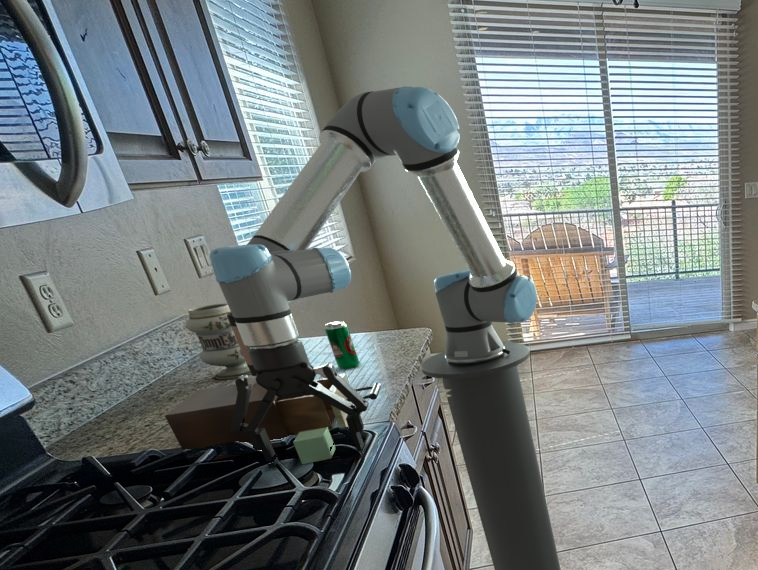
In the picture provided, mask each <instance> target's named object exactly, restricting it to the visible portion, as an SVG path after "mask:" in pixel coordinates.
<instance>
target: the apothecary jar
mask: <svg viewBox="0 0 758 570" xmlns="http://www.w3.org/2000/svg"><path fill="white" fill-rule="evenodd" d="M187 312H188V317H189V318H188V319H187V320H186V322H185V327H186V329H187V330H188V331H189V332H191V333H195V336H196V337H197V339H198V341H199V344H200V345H201V348H202V351H201V352H200V353H199V354H200V355H199V358H200V360H201V361H202V362H203V363H205V364H207V365H210V366H214V367H225V368H223V369H221V370H220V371H219V372H217V373H216V374H215V375H214V378H215V379H217V380H229V379H237V378H239V377H240V376H241V375H247V376H250V375H252V374H251V372H250V370H249V368H248V366H247V363H246V361H245V359H244V356H243V354H242V351H241V349H240V347H239V344H238V342H237V339H236V337H235V334H234V332H233V330H232V327H231V325H230V322H229V320H228V318H227V314H228V313H231V311H230V308H229V306H228V304H227V303H214V304H207V305H202V306H197V307H193V308H190V309H188V310H187Z"/></svg>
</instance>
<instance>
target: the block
mask: <svg viewBox="0 0 758 570" xmlns="http://www.w3.org/2000/svg"><path fill="white" fill-rule="evenodd" d="M333 443H334V439H333V438H332V435H331V432H330V430H328V427H326V428H320V429H315V430H309V431H304V432H299V433H298V435H297V437H296V438H295V440H294V441H293V445H294V448H295V450H296V452H297V455H298V457H299V460H300V463H301V464H302V465H306V464H310V463H311V464H312V463H316V462H321V461H326V460H331V459H332V458H333V455H334V453H335V451H336V446H335V445H336V444H334V445H333ZM332 445H333V447H332V449H331V451H330V447H331V446H332Z"/></svg>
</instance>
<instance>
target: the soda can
mask: <svg viewBox="0 0 758 570" xmlns="http://www.w3.org/2000/svg"><path fill="white" fill-rule="evenodd" d="M324 331H325V334H326V337H327V340H328V343H329V346H330V349H331V352H332V354H333V357H334V360H335V362H336V366H337V368H339V369H340V370H351V369H354V368H357V367H358V366H359V365H360V364H361V363H360V359H359V357H358V354H357V351H356V347H355V344H354V342H353V338H352V336H351V332H350V330H349V328H348V325H347V324H346V323H345V321H344V320H337V321H331V322H328V323H325V324H324Z"/></svg>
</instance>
